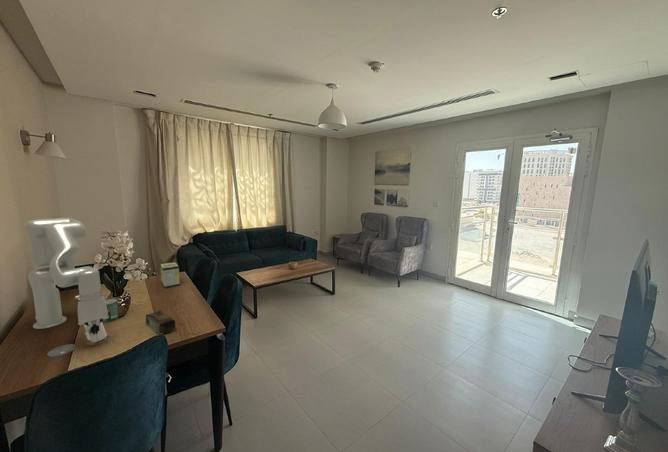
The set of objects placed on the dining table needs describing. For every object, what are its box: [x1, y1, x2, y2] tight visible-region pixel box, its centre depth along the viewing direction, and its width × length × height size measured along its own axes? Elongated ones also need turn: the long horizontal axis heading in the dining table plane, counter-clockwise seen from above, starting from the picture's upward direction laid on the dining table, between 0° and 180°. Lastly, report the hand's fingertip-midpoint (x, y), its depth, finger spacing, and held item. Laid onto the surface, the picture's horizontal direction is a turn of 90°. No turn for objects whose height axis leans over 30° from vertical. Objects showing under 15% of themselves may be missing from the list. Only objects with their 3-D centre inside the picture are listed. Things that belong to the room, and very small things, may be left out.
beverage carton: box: [145, 310, 176, 335], centre depth 145 cm, size 8×19×7 cm, turn 53°
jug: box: [83, 320, 108, 343], centre depth 129 cm, size 6×9×9 cm, turn 17°
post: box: [86, 334, 110, 346], centre depth 131 cm, size 8×8×7 cm
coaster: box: [47, 343, 76, 358], centre depth 122 cm, size 9×9×1 cm
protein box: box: [159, 261, 181, 289], centre depth 208 cm, size 10×16×16 cm
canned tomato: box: [102, 298, 119, 324], centre depth 151 cm, size 8×8×11 cm
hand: (95, 333), depth 127 cm, fingers closed
